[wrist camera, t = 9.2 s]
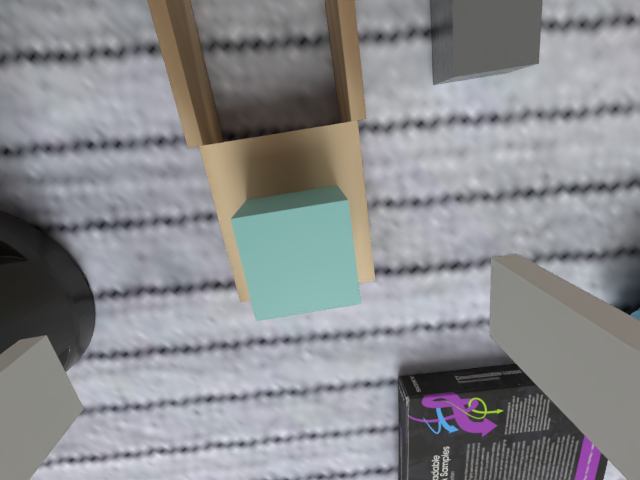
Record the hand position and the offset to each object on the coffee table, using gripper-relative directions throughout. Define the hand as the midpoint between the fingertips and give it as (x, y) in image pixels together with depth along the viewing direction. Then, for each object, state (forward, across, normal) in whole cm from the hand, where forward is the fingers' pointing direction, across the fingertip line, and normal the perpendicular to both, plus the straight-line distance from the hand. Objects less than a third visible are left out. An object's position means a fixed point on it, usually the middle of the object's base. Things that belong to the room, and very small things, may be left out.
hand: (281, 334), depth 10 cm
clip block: (+11, +1, 0) cm, 11 cm away
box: (+15, +16, -24) cm, 32 cm away
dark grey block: (+15, +14, +11) cm, 23 cm away
